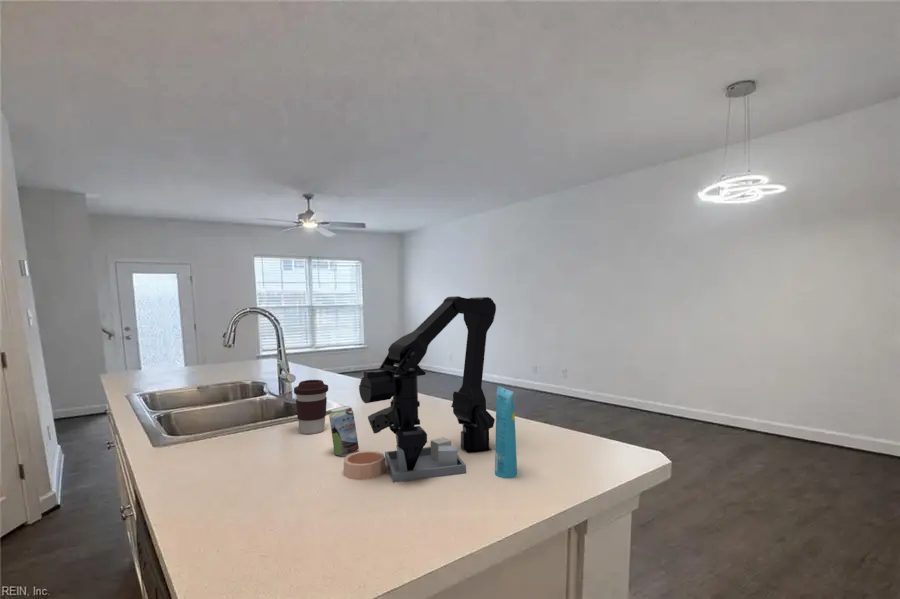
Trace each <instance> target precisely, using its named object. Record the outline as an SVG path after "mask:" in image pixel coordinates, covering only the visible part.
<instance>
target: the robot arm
mask: <svg viewBox="0 0 900 599" xmlns="http://www.w3.org/2000/svg"><path fill="white" fill-rule="evenodd" d="M496 312H497V305H496V303H495V302H494V300H493V299H492V298H491V297H490V296H486V297H485V296H483V297H480V296H479V297H469V298H468V297H467V298H466V297H461V296H458V295H457V296H448V297H447V296H446V298H445V299H444V300H443V302H442V303H441V304H440V305H439V306H438V307H437V308H436V309H435V310H434V311H433V312H432V313H431V314H430V315H429V316H428V317H426V319H425V320H424V321H423V322H422V323H420V324H419V325H418V327H417V328H415V329H414V330H413V331H412V332H409V333H408V334H406V335H403V336H402V337H400V338H399V339H397V340H395V341H394V342H392V343H391V344H390V346H388V349H387V350H388V353H387V355H386V357H385V358H384V360H383V362H382V363H381V364H380V367H379V369H378V370H365V371H363V377H362V378H361V379H360V383H359V386H358V389H359V390H358V392H359V395H360V396H359V397H360V399H361V401H362V402H363V403H364V404H369V403H370V404H371V403H376V402H381V401H387V400H390V406H388V407H386V408H382V409H381V410H379V411H376V412H373V413H371V414H370V415H368V416H367V419H368V422H369V425H370V428H371V429H372V432H373V434H378V433H380V432H381V431H382V430H384V429H387V428H389V429H390V431H391V432H392V433H393V434H395V440H396V446H397V445H398V447H399V448H401V449H402V450H403V451H404V456H405V461H406V466H407V471H411V470H413V469H414V467H415V465H416V462H417V460H418V458H419V455H420V453H421V451H422V449H423V448H425V447H426V444H427V443H428V434H427V432H426V431H425V429H424V428H423V427H421V426H420V425H421V420H420V418H419V408H420V404H421V401H420V400H419V397H418V396H419V391H418V386H419V385H418V377H420V376H425V375H426V374H427V373H426V371H425V370H423V369H422V368H421V367H420V363H421V361H422V360H423V358H424V357H425V356H426V354H427V351H428V347H429V345H430V344H431V343H432V342H433V340H435V338H437V337H438V336H439V334H440V333H441V332H443V330H444V329H445V328H446V327H447V326H448V325H450V323H451V322H452V321H453V320H454V319H455V318H456V317H457V316H458V315H459V314H462V315H463V322H464V323H465V326H466V329H467V337H466V344H465V346H466V347H465V355H464V366H463V373H462V374H463V377H462V384H461V387H460V388H459V390H458V391H456V390H455V391H453V392H452V404H451V406H450V407H451V408H452V414H453V415H454V416H455V417H456V419H457V423H458V424H459V425H462V430H461V431H460V448H461V449H462V450H464V451H465V452H466V453H467V454H475V453H477V454H478V453H483V452H491V451H492V448H491V447H490V429H493V428H494V427H495V426H494V425H495V422H496V418H494V417H493V416H492V414H490V412H488V410H487V399H486V395H485V393H484V390H483V388H482V385H483V384H482V383H483V375H484V366H485V365H484V364H485V356H486V355H485V354H486V343H487V334H488V331H489V329H490V328H491V326H492V324H493V323H494V321H495V316H496Z"/></svg>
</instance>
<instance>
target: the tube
mask: <svg viewBox="0 0 900 599" xmlns="http://www.w3.org/2000/svg"><path fill="white" fill-rule="evenodd" d="M496 387H497V388H496V398H495V399H496V401H495V405H496V406H495V444H494V445H495V447H494V450H495V451H494V454H495V456H494V463H495V464H494V474H495V476H496V477H498V478H500V479H513V478H516V477H517V476H518V460H517V441H516V440H517V439H516V420H515V419H516V418H515V417H516V416H515V406H514V405H515V404H514V403H515V402H514V391H512V390H509V389H507V388H505V387H502V386H499V385H497V386H496Z"/></svg>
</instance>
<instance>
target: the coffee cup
mask: <svg viewBox="0 0 900 599" xmlns="http://www.w3.org/2000/svg"><path fill="white" fill-rule="evenodd" d="M328 391H329V385H328V384H325V383H324V381H323V380H322V379H306V380H301V381H300V382H299V383H298V385H297V386H295V387H294V388H293V394H294V395H295V397H296V399H295V404H296V415H297V416H296V418H297V421H298V429H299V430H298V431H299V433H300V434H302V435H314V434H319V433H321V432H324V431H325V427H326V426H325V424H326V416H327V403H328V402H327V400H328V398H327V392H328Z"/></svg>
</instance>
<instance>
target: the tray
mask: <svg viewBox="0 0 900 599" xmlns="http://www.w3.org/2000/svg"><path fill="white" fill-rule="evenodd" d="M384 457H385V464H386V467H387V470H388V472H389V475H390V477H391V481H392V483H399V482H400V483H401V482H407V481H416V480H423V479H424V480H425V479H431V478H438V477H448V476H456V475H463V474H465V475H466V474H467V464H466V463H465V462H464V460H462V459H461V457H460V456H459V455H458V454H457V465H453V466H444V467H439V463H438V462H437V461H435V460H433V459H431V446H424V447H423V449H422V451H421V453H420V455H419V458H418V460H417V470H411V471H402V472H399V470H398V468H397V450H390V451H389V450H387V451H385V452H384Z"/></svg>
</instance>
